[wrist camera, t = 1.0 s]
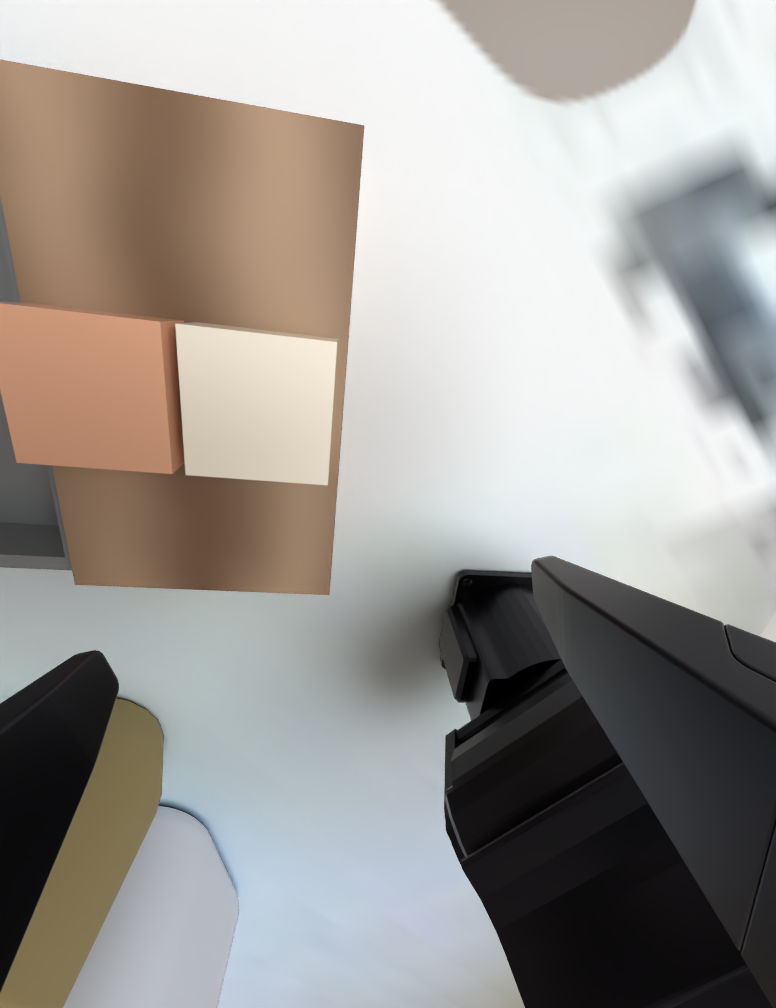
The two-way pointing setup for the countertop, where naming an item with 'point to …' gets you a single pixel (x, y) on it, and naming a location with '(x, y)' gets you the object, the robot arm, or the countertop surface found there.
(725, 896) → the robot arm
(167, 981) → the plastic bottle
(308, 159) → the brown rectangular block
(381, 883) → the countertop surface
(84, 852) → the squeeze bottle
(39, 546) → the charcoal bin
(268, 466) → the cream block
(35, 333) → the terracotta tile
